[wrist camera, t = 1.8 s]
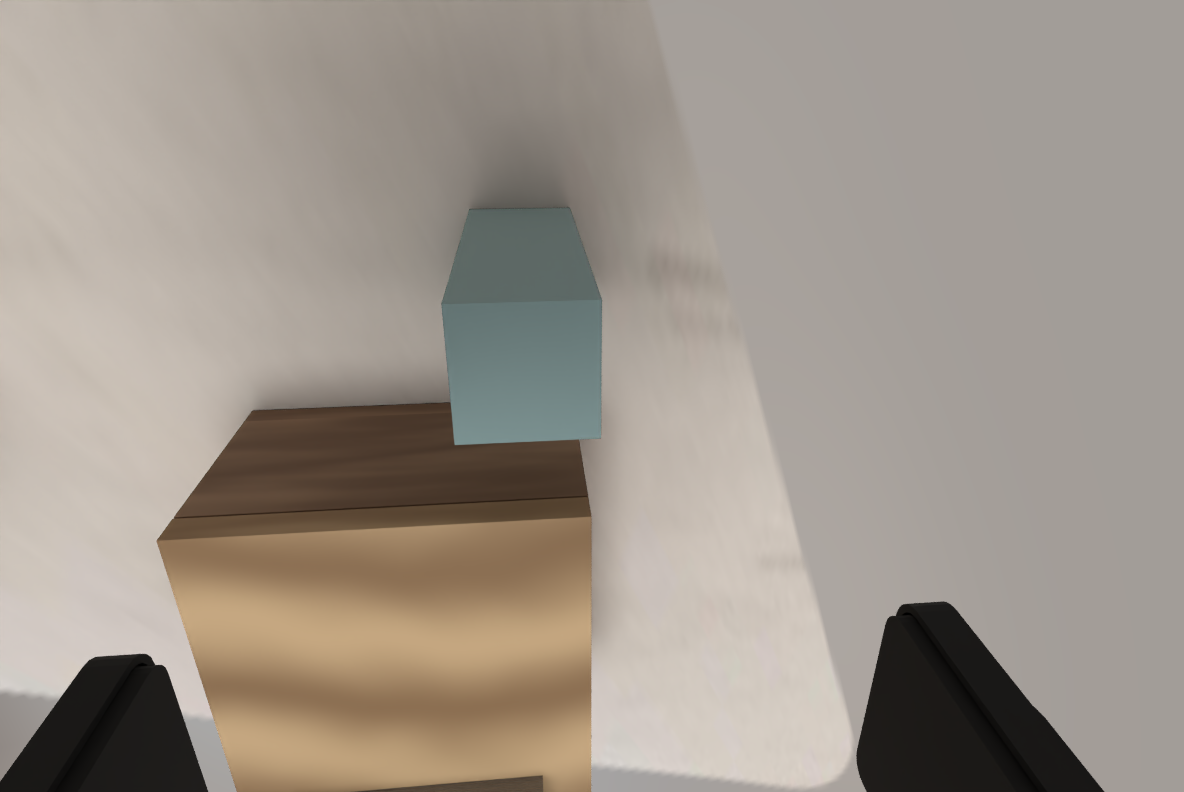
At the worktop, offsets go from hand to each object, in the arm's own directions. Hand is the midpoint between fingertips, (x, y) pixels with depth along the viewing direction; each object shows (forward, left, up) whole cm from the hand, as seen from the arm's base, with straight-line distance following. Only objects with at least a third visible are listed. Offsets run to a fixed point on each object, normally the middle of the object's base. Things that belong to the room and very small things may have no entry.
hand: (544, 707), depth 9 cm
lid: (+14, -5, -14) cm, 21 cm away
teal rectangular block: (0, 0, -22) cm, 22 cm away
